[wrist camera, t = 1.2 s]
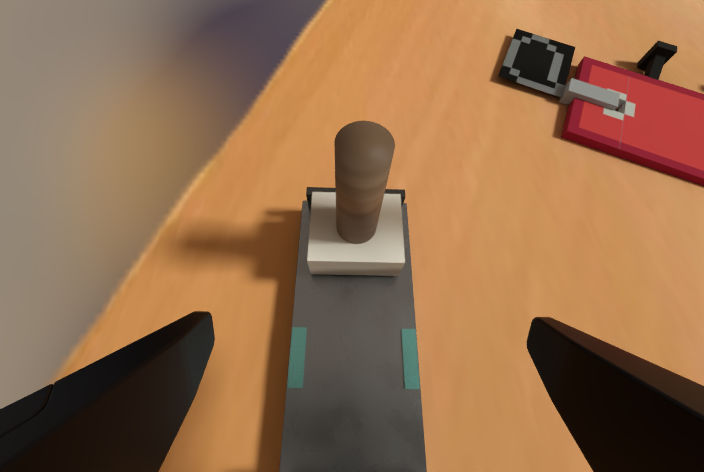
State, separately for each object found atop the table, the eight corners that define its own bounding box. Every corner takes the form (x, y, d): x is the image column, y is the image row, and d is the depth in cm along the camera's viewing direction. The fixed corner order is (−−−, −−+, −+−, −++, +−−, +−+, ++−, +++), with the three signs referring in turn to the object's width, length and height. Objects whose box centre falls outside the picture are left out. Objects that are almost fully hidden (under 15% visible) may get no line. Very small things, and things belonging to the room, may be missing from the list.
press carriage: (398, 275, 22) (440, 194, 13) (310, 274, 22) (289, 190, 13) (394, 212, 24) (428, 103, 15) (314, 210, 24) (299, 99, 15)
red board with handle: (516, 27, 38) (482, 114, 32) (529, 1, 35) (495, 91, 30) (797, 115, 34) (816, 233, 28) (834, 93, 31) (864, 218, 25)
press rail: (421, 485, 19) (438, 504, 15) (282, 485, 18) (270, 504, 15) (403, 213, 26) (411, 188, 23) (304, 210, 26) (300, 185, 23)
